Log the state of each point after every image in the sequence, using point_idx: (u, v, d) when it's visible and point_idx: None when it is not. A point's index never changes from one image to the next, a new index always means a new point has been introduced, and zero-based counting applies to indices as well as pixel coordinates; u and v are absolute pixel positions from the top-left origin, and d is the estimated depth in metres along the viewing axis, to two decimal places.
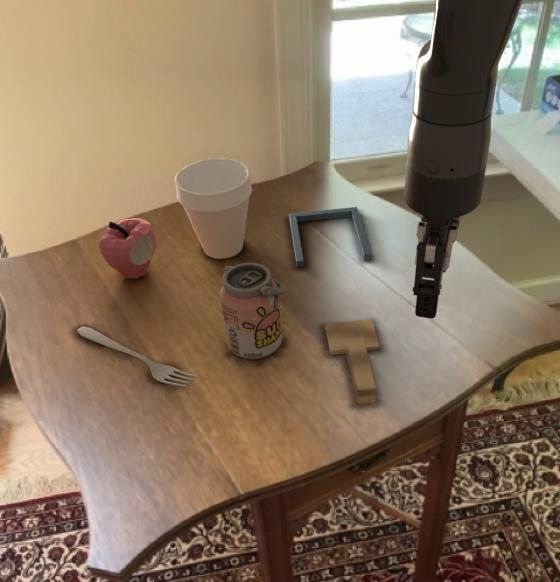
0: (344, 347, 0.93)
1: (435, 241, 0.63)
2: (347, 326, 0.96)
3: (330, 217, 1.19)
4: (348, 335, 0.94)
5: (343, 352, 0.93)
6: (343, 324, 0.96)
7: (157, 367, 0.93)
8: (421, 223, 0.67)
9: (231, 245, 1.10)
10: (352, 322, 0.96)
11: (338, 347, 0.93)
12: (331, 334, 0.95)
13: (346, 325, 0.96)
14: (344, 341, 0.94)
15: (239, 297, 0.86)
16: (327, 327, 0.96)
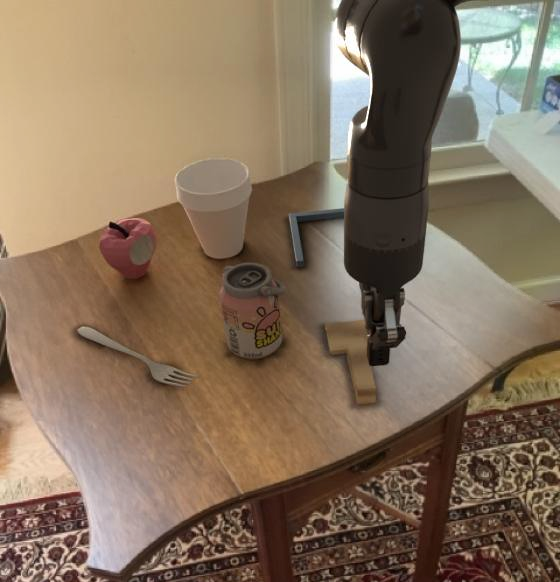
0: (344, 347, 0.93)
1: (394, 324, 0.62)
2: (347, 326, 0.96)
3: (330, 217, 1.19)
4: (348, 335, 0.94)
5: (343, 352, 0.93)
6: (343, 324, 0.96)
7: (157, 367, 0.93)
8: (368, 297, 0.64)
9: (231, 245, 1.10)
10: (352, 322, 0.96)
11: (338, 347, 0.93)
12: (331, 334, 0.95)
13: (346, 325, 0.96)
14: (344, 341, 0.94)
15: (239, 297, 0.86)
16: (327, 327, 0.96)
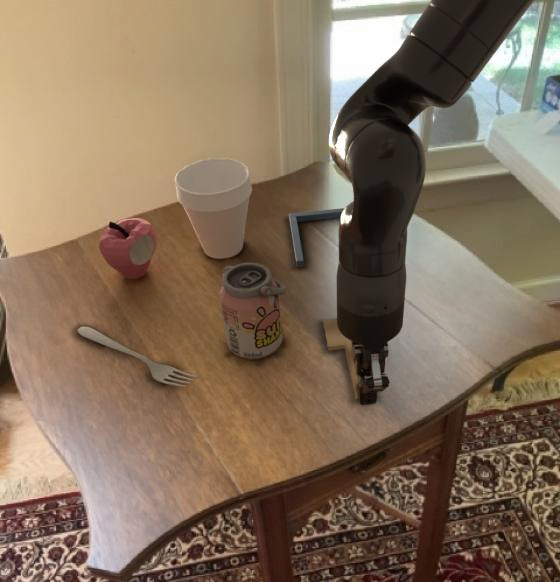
0: (342, 343, 0.93)
1: (379, 374, 0.74)
2: None
3: (330, 217, 1.19)
4: None
5: (341, 348, 0.93)
6: None
7: (157, 367, 0.93)
8: (357, 351, 0.76)
9: (231, 245, 1.10)
10: None
11: (336, 343, 0.93)
12: (329, 330, 0.96)
13: None
14: (342, 337, 0.94)
15: (239, 297, 0.86)
16: (325, 323, 0.97)
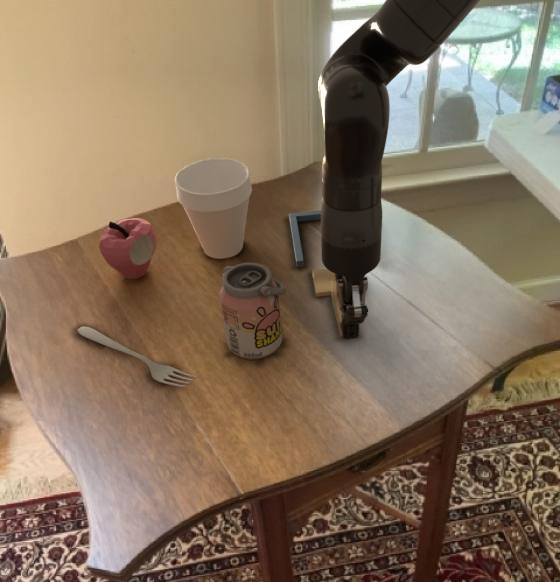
0: (329, 289, 1.03)
1: (359, 303, 0.83)
2: (332, 272, 1.06)
3: None
4: (333, 279, 1.04)
5: (328, 294, 1.03)
6: (328, 271, 1.06)
7: (156, 367, 0.93)
8: (340, 284, 0.85)
9: (231, 245, 1.10)
10: None
11: (323, 289, 1.03)
12: (317, 279, 1.05)
13: None
14: (329, 284, 1.03)
15: (239, 297, 0.86)
16: (314, 273, 1.06)
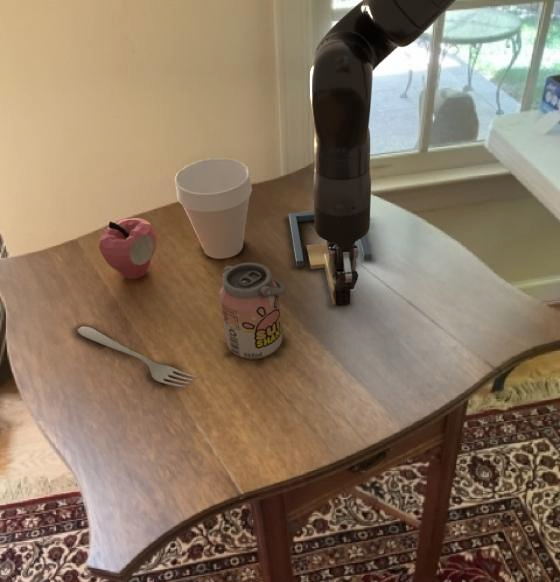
0: (323, 262, 1.08)
1: (349, 269, 0.88)
2: (326, 246, 1.11)
3: None
4: (326, 253, 1.10)
5: (322, 266, 1.08)
6: (322, 245, 1.11)
7: (156, 367, 0.93)
8: (332, 251, 0.90)
9: (231, 245, 1.10)
10: None
11: (317, 262, 1.08)
12: (312, 252, 1.10)
13: (325, 246, 1.11)
14: (323, 258, 1.09)
15: (239, 297, 0.86)
16: (308, 247, 1.11)
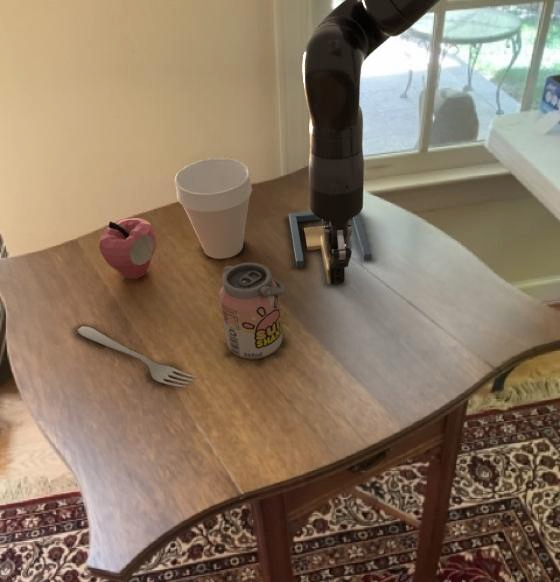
0: (319, 244, 1.12)
1: (343, 246, 0.92)
2: (322, 229, 1.15)
3: None
4: None
5: (318, 248, 1.12)
6: (319, 228, 1.15)
7: (156, 367, 0.93)
8: (326, 230, 0.94)
9: (231, 245, 1.10)
10: None
11: (314, 244, 1.12)
12: (309, 235, 1.14)
13: (321, 228, 1.15)
14: (319, 239, 1.13)
15: (239, 297, 0.86)
16: (306, 230, 1.15)
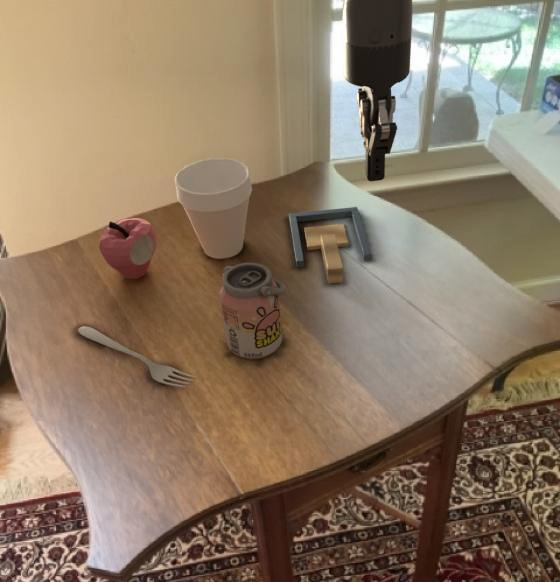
0: (319, 243, 1.12)
1: (386, 120, 0.74)
2: (322, 229, 1.15)
3: (330, 217, 1.19)
4: (323, 235, 1.14)
5: (318, 248, 1.12)
6: (319, 227, 1.15)
7: (156, 368, 0.93)
8: (364, 103, 0.76)
9: (231, 245, 1.10)
10: (327, 226, 1.16)
11: (314, 243, 1.12)
12: (309, 234, 1.14)
13: (321, 228, 1.15)
14: (319, 239, 1.13)
15: (239, 297, 0.86)
16: (306, 230, 1.15)
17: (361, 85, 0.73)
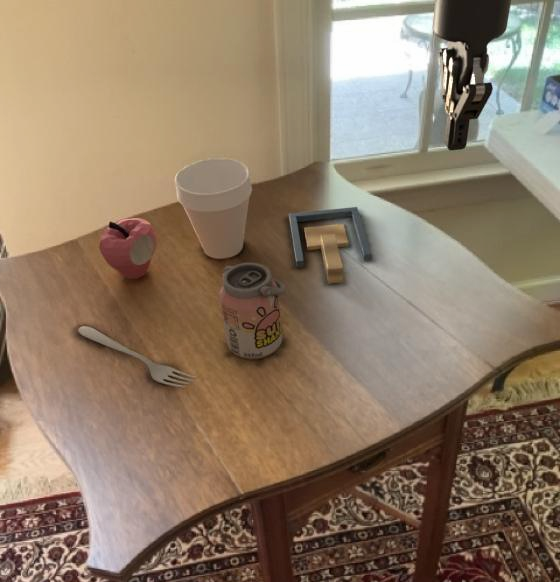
0: (319, 243, 1.12)
1: (481, 79, 0.67)
2: (322, 229, 1.15)
3: (330, 217, 1.19)
4: (323, 235, 1.14)
5: (318, 248, 1.12)
6: (319, 227, 1.15)
7: (156, 368, 0.93)
8: (455, 61, 0.69)
9: (231, 245, 1.10)
10: (327, 226, 1.16)
11: (314, 243, 1.12)
12: (309, 234, 1.14)
13: (321, 228, 1.15)
14: (319, 239, 1.13)
15: (239, 297, 0.86)
16: (306, 230, 1.15)
17: (455, 40, 0.67)
